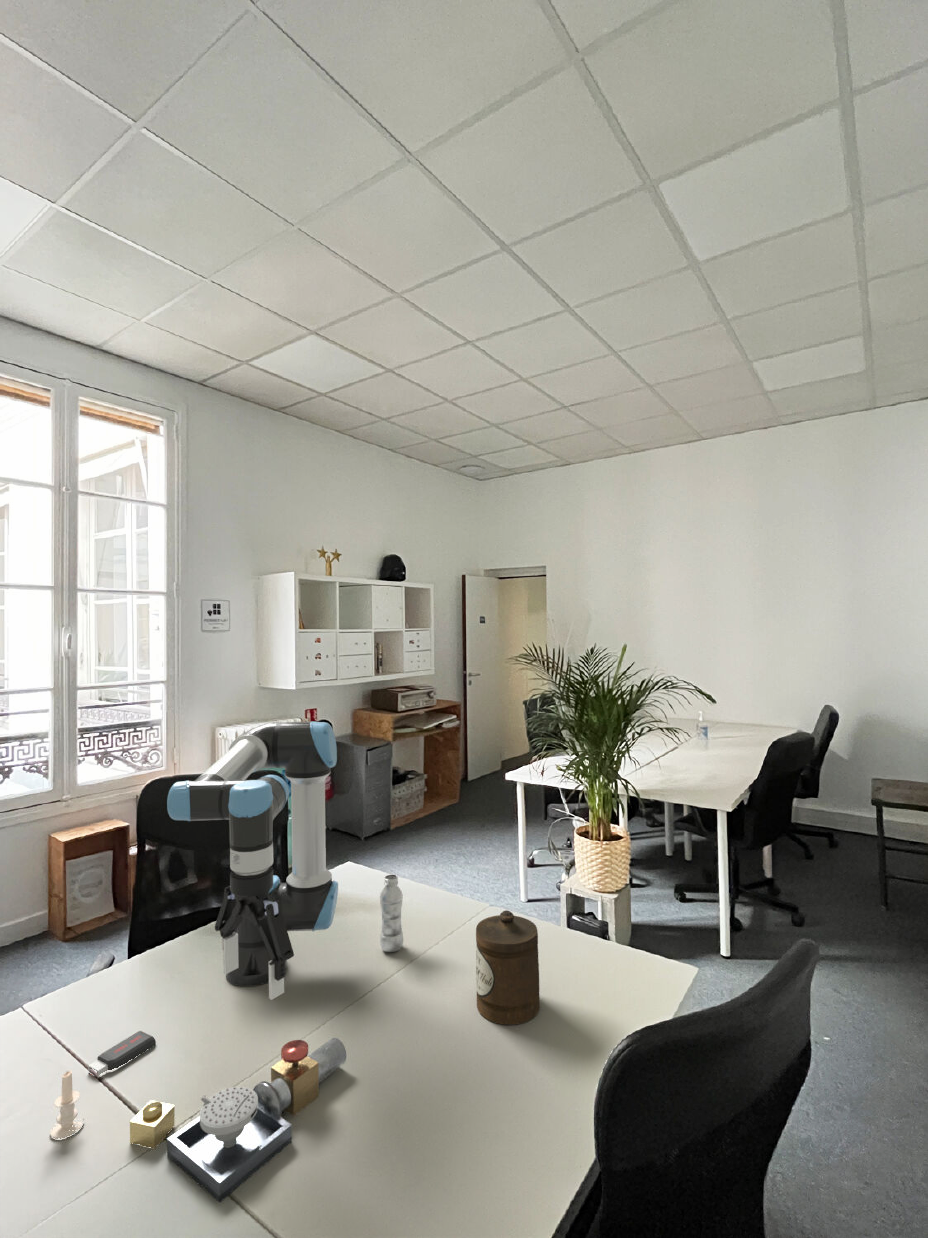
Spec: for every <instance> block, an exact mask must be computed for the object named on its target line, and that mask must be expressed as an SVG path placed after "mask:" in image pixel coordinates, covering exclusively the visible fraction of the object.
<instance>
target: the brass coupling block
mask: <svg viewBox="0 0 928 1238" xmlns="http://www.w3.org/2000/svg"><path fill="white" fill-rule="evenodd" d="M173 1126H174V1127H175V1105H174V1104H171V1103H165V1102H161V1101H156V1100H149V1102H147V1103H146V1105H144V1107H143V1108H141V1110H140V1111H138V1113H137V1114H135V1116H134V1117H132V1119H131V1120H130V1121H129V1144H130V1143H131V1144H130V1145H133V1144H140V1145H142V1146H146V1147H151V1148H154V1149H153V1150H156V1149H157V1147H158V1146H159V1145H160V1144H161V1143H162V1142H163V1141H164V1139H165V1138H166V1137H167V1136H166V1134H168V1132H169V1131H170V1130H171V1129H172V1128H173ZM173 1129H174V1128H173ZM173 1129H172V1130H173ZM172 1130H171V1131H172ZM171 1131H170V1132H171ZM168 1135H169V1134H168ZM132 1143H133V1144H132ZM158 1144H159V1145H158ZM157 1145H158V1146H157ZM142 1146H141V1147H142ZM156 1146H157V1147H156ZM146 1147H145V1148H146Z"/></svg>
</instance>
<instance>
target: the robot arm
mask: <svg viewBox="0 0 928 1238" xmlns="http://www.w3.org/2000/svg"><path fill="white" fill-rule="evenodd" d="M337 754H338V748H337V741H336V735H335V732H334V730H333V727H332V726H331V725H330V723H328V722H324V721H322V722H321V721H320V722H319V721H315V720H314V721H289V722H288V721H287V722H286V721H285V722H284V721H283V722H279V721H278V722H269V723H264V724H261V725H258V726H255V727H252V728H251V729H249V730H247V731H245V732H243V733H242V734H240V735H239V736H237V737H235V739H234V740H233V741H232V742H231V743H230V746H229V747H228V751H227V752H225V754H223V755H222V756H221V757H220V758H218V760H216V761H215V762H214V763H213V764H211V766H210V767H209V768H208V769H206V770H205V771H204V772H203V773H201V775H200V776H198V777H197V778H195V780H188V779H187V780H184V781H176V782H175V783H173V785H172V786H171V787H170V788H169V790H168V794H167V799H166V800H167V801H166V803H167V804H166V806H167V807H166V808H167V814H168V815H169V817H170V819H172V820H174V821H187V822H194V821H195V822H196V821H221V820H223V821H224V820H225V821H226V820H228V823H229V850H230V851H229V852H230V853H229V861H230V862H229V864H230V866H229V867H230V868H229V869H230V870H231V871H230V873H229V886H226V887H224V889H223V890H224V892H223V899H222V903H221V906H220V909H219V912H218V915H217V918H216V921H215V923H214V930H215V931H216V932H220V933H219V934H220V937H221V938H222V953H223V955H222V958H223V959H222V960H223V974H225V978H226V980H227V982H229V983H230V984H232V985H234V986H239V987H254V986H260V985H264V984H267V983H268V999H269V1000H271V1001H272V1000H274V999H275V998H277V997H279V996H281V995H282V994H284V993H285V977H286V969H287V966H288V965H287V963H288V962H287V961H288V960H290V959H291V958H293V957H294V956H295V953H294V950H293V946H292V942H291V939H290V936H289V933H288V932H307V931H308V932H311V931H312V932H315V931H322V930H323V931H324V930H328V929H329V928H330V927H331V926H332V925H333V921H334V917H335V915H336V914H335V913H336V907H337V903H338V894H339V882H338V881H336V880H333V875H332V872H331V871H330V870H329V869H327V864H326V863H327V862H326V861H327V858H326V857H327V855H326V854H327V853H326V852H327V851H326V849H327V848H326V840H327V839H326V778H328V777H329V775H330V774H331V773H332V772H331V769H332V768H334V767H336V765H337V762H338V761H337V760H338V755H337ZM270 768H271V769H272V768H274V769H275V768H276V769H280V768H281V769H284V776H285V778H287V779H288V780H289V781H290V786H291V788H290V789H289V786H288V784H287V782H286V781H285V779H284V778H282V777H280V776H279V775H276V774H267V775H263V776H261V777H260V778H258V779H248V777H249V776H250V775H251V774H252V773H256V772H257V771H259V770H261V769H270ZM290 790H291V791H290ZM290 793H291V795H290ZM289 795H290V796H291V797H290V798H291V800H290V801H291V805H290V806H291V864H292V865H291V870H292V871H291V873H290V874H289V875H288V876H287V877H286V882H281V879H280V877H279V876H278V875H275V874H274V867H273V864H274V842H273V841H274V840H273V833H274V832H273V831H274V830H273V823H274V822H273V821H274V819H275V818H276V817H277V816H278V814H279V813H280V812H282V810H283V809H284V808H285V805H286V804H287V801H288V799H289Z"/></svg>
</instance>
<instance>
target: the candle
mask: <svg viewBox="0 0 928 1238" xmlns="http://www.w3.org/2000/svg"><path fill="white" fill-rule="evenodd" d="M72 1073H73V1072H72V1070H67V1071H66V1072H65V1073H63V1075H62V1076H61V1077H62V1078H61V1095H58V1097H57V1098H56V1099H55V1100H54V1104H53V1105H54V1106H55V1107H56V1108H59V1114H58V1116H57V1117H56V1123H58V1124H56V1123H55V1124H54V1125H56V1127H53V1126H52V1127H53V1130H52V1129H51V1128H50V1131H49V1136H50V1135H51V1136H53V1138H55V1139H58V1138H60V1139H61V1138H65V1137H67V1136H70V1135H72V1134H74V1133H75V1132H76V1131H75V1130H78V1129H80V1128H81V1126H77V1127H75V1125H82V1122H78V1123H76V1122H74V1123H73V1121H74V1120H76V1119H75V1118H76V1117H77V1115H79V1114H78V1113H79V1112H78V1109H76V1108H75V1103H76V1102H77V1101H78V1100H79V1099H80V1098H81V1097H80V1096H81V1094H80V1092H79V1091H76V1090H73V1074H72ZM78 1120H79V1119H78ZM80 1120H81V1119H80ZM57 1125H58V1126H57ZM72 1125H73V1127H72ZM69 1130H70V1131H69ZM72 1130H74V1131H72Z"/></svg>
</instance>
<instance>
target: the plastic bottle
mask: <svg viewBox="0 0 928 1238" xmlns="http://www.w3.org/2000/svg"><path fill="white" fill-rule="evenodd" d="M398 878H399V877H398V875H397V874H387V875H385V877H384V882H383V883H384V884H383V885H384V888H383V889H382V891H381V892H380V895H379V902H380V903H379V904H380V908H381V909H380V910H381V929H380V930H381V932H380V937H379V945H380V948H381V949H382V950H383V952H386V953H396V952H398V951H400V950H401V949H402V947H403V945H404V933H403V927H402V908H403V907H402V906H403V896H404V895H403V892H402V890H401V888H400V887H399V886H398V885H399V879H398Z"/></svg>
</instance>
